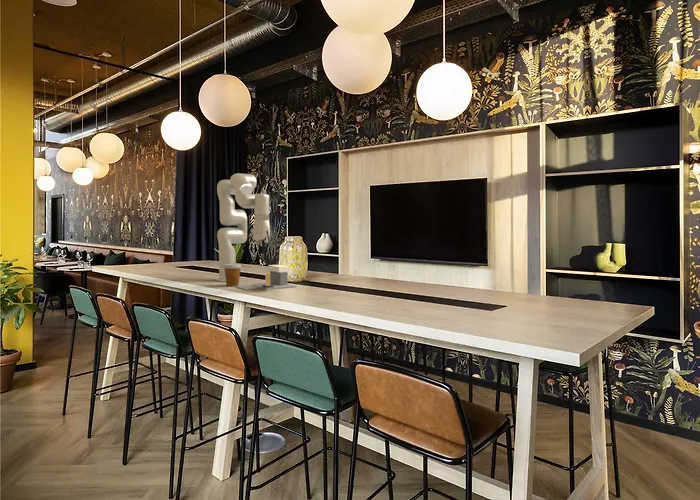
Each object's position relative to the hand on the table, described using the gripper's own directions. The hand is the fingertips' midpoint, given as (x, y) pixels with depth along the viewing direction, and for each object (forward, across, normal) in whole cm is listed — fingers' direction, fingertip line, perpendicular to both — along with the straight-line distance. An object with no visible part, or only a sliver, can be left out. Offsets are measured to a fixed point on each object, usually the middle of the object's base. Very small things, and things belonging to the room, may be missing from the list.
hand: (261, 253), depth 239 cm
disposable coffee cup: (+19, -24, -4) cm, 31 cm away
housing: (+19, -8, +12) cm, 24 cm away
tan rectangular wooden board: (+17, 0, +4) cm, 17 cm away
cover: (+11, -10, +16) cm, 22 cm away
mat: (+19, -12, -2) cm, 22 cm away
